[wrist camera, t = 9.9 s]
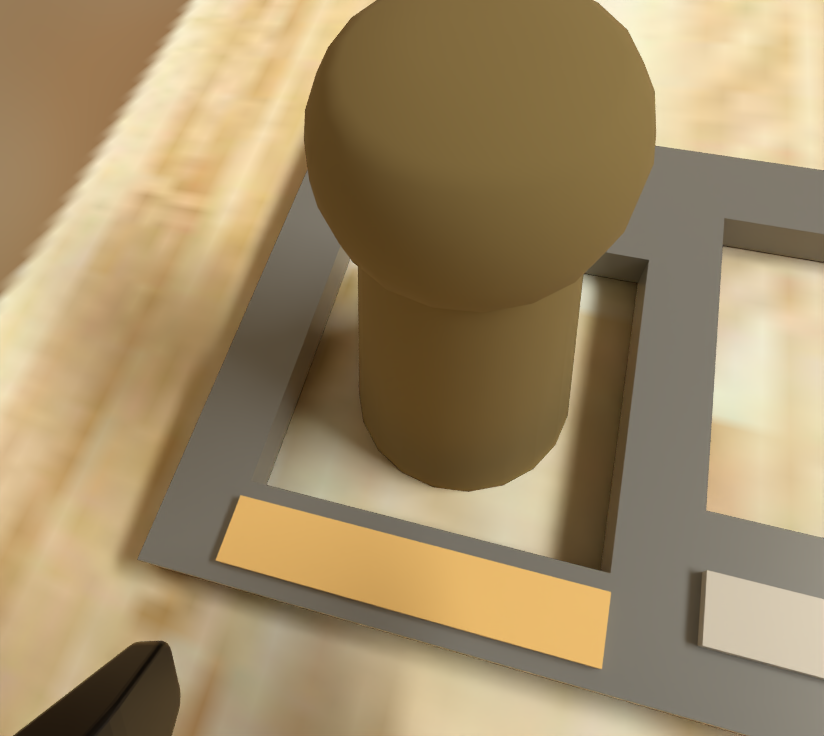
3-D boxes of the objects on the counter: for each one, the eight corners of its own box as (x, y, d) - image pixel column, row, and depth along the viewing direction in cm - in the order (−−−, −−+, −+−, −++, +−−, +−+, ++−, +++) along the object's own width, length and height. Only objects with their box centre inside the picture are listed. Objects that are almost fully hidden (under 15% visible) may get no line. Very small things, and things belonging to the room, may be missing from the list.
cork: (396, 280, 20) (341, -116, 10) (587, 324, 18) (747, -69, 9) (329, 456, 17) (164, 169, 7) (544, 519, 16) (699, 284, 6)
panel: (1247, 880, 12) (1346, 907, 11) (158, 566, 16) (131, 557, 15) (1090, 240, 19) (1140, 208, 17) (343, 126, 23) (336, 92, 21)
